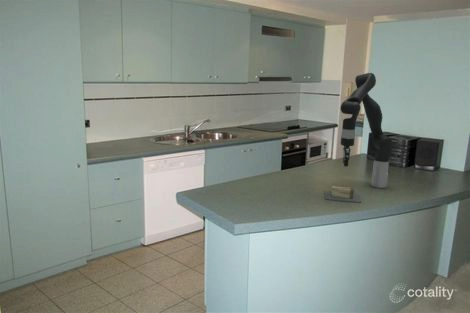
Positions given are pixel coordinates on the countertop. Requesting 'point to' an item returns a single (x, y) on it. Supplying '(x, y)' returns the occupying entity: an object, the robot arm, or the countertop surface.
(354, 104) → the robot arm
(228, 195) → the countertop surface
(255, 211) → the countertop surface
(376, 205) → the countertop surface
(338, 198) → the mat
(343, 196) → the maple bar
